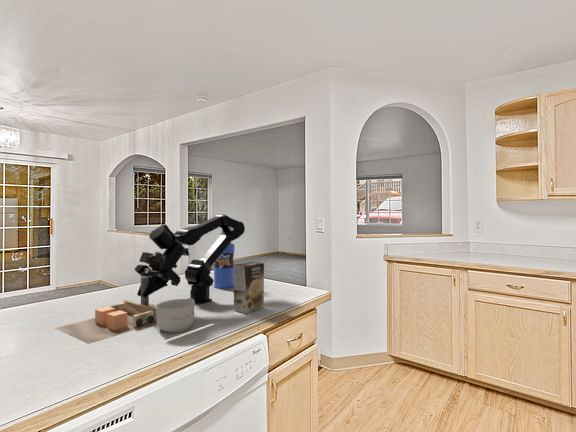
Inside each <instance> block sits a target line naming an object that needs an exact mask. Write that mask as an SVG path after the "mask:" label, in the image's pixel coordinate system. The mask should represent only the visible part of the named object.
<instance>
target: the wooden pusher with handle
mask: <svg viewBox="0 0 576 432" xmlns="http://www.w3.org/2000/svg"><path fill="white" fill-rule="evenodd" d="M140 285H141V296H140V302H136V301H133V300H128V299H126V300H125V299H124V300H123V302H119V303H115V304H112V305H106V306H105V307H112V308H115V311H119V310H121V311H124V312H127V313H130V314H133V326H140V325H142V324H145V323H149V322H152V321H155V320H156V309H155V308H154V307H150V306H149V304H150V299H149V298H150V295H148V296H147V297H145V298H144V297H143V296H142V295H143V293H144V291H145V290H146V288H147V286H148V285H149V277H148V276H144V277H142V276H140Z"/></svg>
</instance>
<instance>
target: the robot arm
mask: <svg viewBox="0 0 576 432" xmlns="http://www.w3.org/2000/svg"><path fill="white" fill-rule="evenodd" d="M218 228H219V229H221V232H222V235H219V236H220V237H219V236H218V238H217V239H216V240H215V242H214V243H213V244H212V245H211V246H210V247H209V249H208V250H207V251H206V252H205V253H204V255H202V257H201V258H200V259H192V260H191V261H190V263H189V264H188V265H186V266H185V267H186V269H184V276H185V280H186V281H187V284H188V286H190V291H189V292H190V297H189V298H193V299H194V301H195V304H197V305H201V304H205V303H208V302H212V301H213V299H212V298H210V287H211V286H214V278H212V277H211V275H210V274H211V272H212V271H211V270H212V266H214V264H215V261H216V260H217V259H218V257H219V256H220V255H221V254H222V252H223V251H224V250H225V249H226V247H227V246H228V245H229V244H230V243H232V242H233V241H235V240H237V239H239V238H241V236H242V235H244V233H245V231H246V229H245V228H246V227H245V224H244V223H243V222H242V221H239V220H237V219H234V218H233V217H230V216H228V215H226V214H216V215H215V216H213V217H211V218H209V219H207V220H205V221H203V222H201V223H199V224H196V225H194V226H190V227H189V226H188V227H183V228H179V229H177V230H176V231H175V232H173V231H172V230H171V229H170V227H169V226H168V225H167V224H161V225H160V226H158V227H157V228H155V229H153V230H152V231H151V232H150V233H149V236H148V237H149V239H150V240H151V242H153V243H154V244H155V245H156V246H157V247H158V248H159V249H160V250H164V251H163V253H161V252H160V251H154V253H151V252H146V251H143V252H142V253H141V256H140V257H139V258H140V259H139V261H138V262H139V263H140V262H141V263H144V264H137V265H136V267H134V269H133V270H134V271H135V272H136V273H137V274H139V276H140V277H144V276H148V277H149V285H148V286H147V288H146V290H145V291H144V293H143V295H142V296H143V297H144V298H145V297H147V296H148V295H149V296H150V295H152V294H154V293H155V292H157V291H159V290H161V289H163V288H165V287H168V286H169V284H168V282H169V281H171V282H170V284H171V286H175V287H178V286H179V284H180V283H181V276H180V275H179V274H177V273H176V272H175V271H174V269H177V267H178V265H177V263H179V260H180V259H181V258H182V256H185V257H187V256H188V257H189V256H190V252H189V248H188V247H184V246H194V245H195V244H197V242H198V241H200V240H201V238H202V237H203V236H205V235H206V234H208V233H210V232H212V231H214V230H216V229H218ZM147 264H148V265H147ZM136 295H137V296H139V297H141V284H140V285H139V289H138V290H137V294H136Z"/></svg>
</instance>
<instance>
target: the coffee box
mask: <svg viewBox="0 0 576 432" xmlns="http://www.w3.org/2000/svg"><path fill="white" fill-rule="evenodd" d="M264 278H265V263H264V262H257V261H249V262H248V261H247V262H242V263H237V264H236V263H234V287H233V311H234V312H239V313H243V314H249V313H252V312H255V311H257V310H258V311H259V310H261V309H263V308H264V307H265V300H264V299H265V297H264V295H265V292H264V291H265V279H264Z"/></svg>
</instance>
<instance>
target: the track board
mask: <svg viewBox="0 0 576 432" xmlns="http://www.w3.org/2000/svg"><path fill="white" fill-rule="evenodd" d="M156 305H157V304H154V303H149V306H150V307H154V308H155V306H156ZM127 321H128V326H126V327H123V328H119V329H116V330H113V329H110V328H108V327H107V324H104V325H100V324H98V323H95V317H94V318H90V319H87V320H82V321H78V322H73V323H70V324H65V325H61V326H59V327H55V329H56V330H58V331H60V332H62V333H64V334H67V335H69V336H71V337H73V338H75V339H77V340H80V341H82V342H84V343H86V344H88V345H90V344H92V343H95V342H99V341H102V340H105V339H108V338H112V337H115V336H119V335H122V334H125V333H128V332H132V331H135V330H139V329H142V328H145V327H149V326H151V325H154V324H157V320H155V321H152V322H149V323H145V324H142V325H140V326H133V314H130V313H127Z"/></svg>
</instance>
